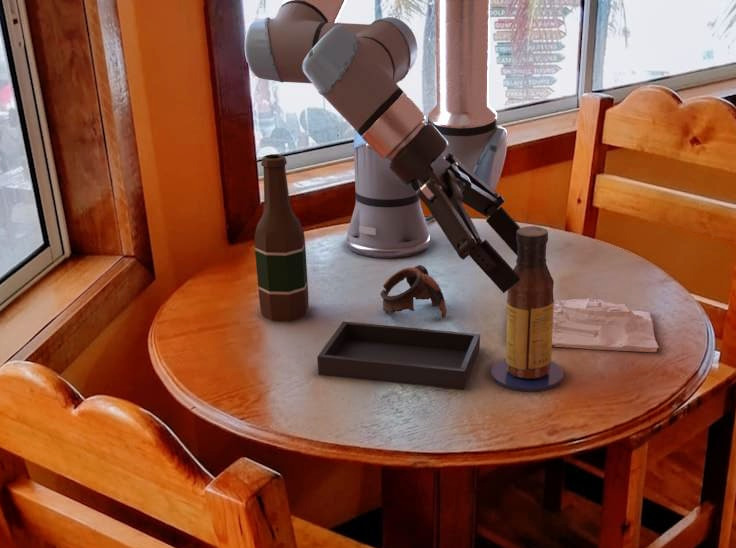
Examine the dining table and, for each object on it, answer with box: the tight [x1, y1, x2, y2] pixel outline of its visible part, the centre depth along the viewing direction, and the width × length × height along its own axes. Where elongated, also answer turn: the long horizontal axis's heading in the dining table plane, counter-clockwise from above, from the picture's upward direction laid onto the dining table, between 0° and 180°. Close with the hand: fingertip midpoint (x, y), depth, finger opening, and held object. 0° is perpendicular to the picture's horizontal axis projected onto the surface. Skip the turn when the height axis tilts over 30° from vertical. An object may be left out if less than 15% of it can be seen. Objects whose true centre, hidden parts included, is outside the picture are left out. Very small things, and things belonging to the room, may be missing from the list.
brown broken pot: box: [380, 264, 448, 319], centre depth 154 cm, size 12×10×8 cm
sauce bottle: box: [505, 225, 555, 379], centre depth 130 cm, size 6×6×20 cm
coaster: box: [490, 358, 564, 393], centre depth 136 cm, size 10×10×1 cm
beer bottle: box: [254, 153, 309, 322], centre depth 148 cm, size 8×8×24 cm
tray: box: [316, 320, 481, 391], centre depth 139 cm, size 13×21×3 cm, turn 77°
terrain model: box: [552, 297, 661, 353], centre depth 148 cm, size 17×23×5 cm
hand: (519, 267), depth 128 cm, fingers open, 13 cm apart
